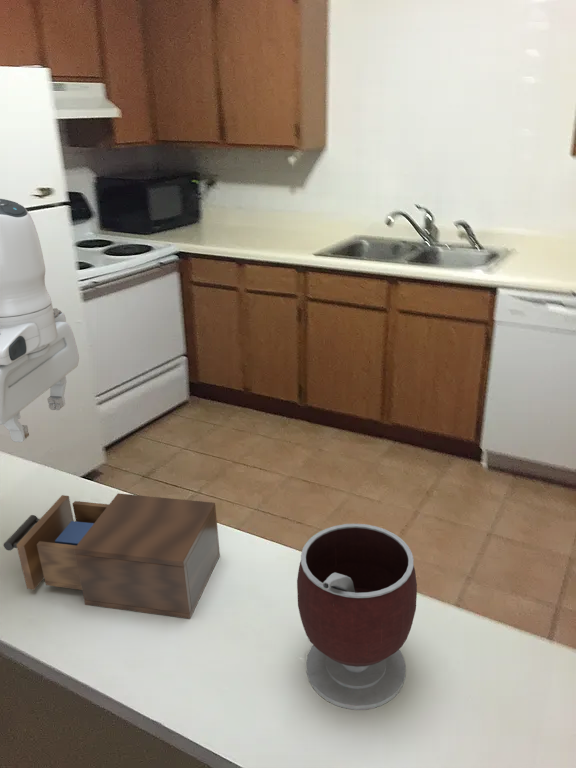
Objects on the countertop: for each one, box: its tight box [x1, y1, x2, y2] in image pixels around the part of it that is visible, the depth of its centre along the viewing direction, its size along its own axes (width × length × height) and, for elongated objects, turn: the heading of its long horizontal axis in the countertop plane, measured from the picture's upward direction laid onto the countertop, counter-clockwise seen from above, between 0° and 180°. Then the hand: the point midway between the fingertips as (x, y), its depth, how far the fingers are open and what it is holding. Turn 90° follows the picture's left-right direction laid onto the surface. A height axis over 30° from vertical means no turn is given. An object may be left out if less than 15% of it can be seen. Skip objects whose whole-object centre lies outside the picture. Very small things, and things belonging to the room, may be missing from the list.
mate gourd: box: [296, 523, 418, 711], centre depth 78 cm, size 16×14×20 cm
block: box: [55, 520, 94, 546], centre depth 100 cm, size 5×5×5 cm
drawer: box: [3, 494, 110, 591], centre depth 100 cm, size 19×13×8 cm, turn 78°
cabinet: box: [74, 493, 221, 620], centre depth 98 cm, size 16×14×10 cm
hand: (40, 423), depth 92 cm, fingers open, 8 cm apart
